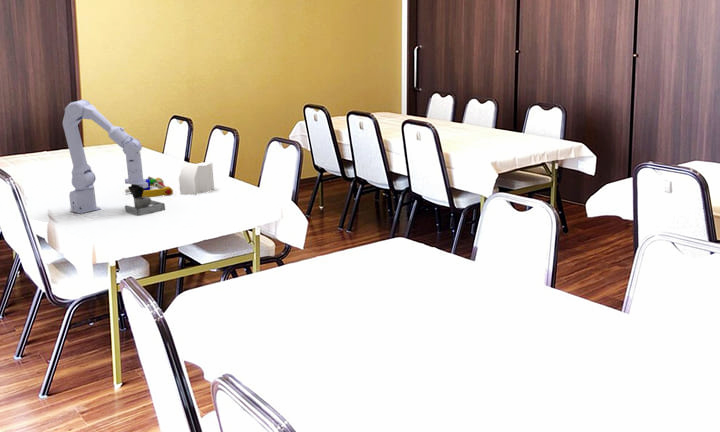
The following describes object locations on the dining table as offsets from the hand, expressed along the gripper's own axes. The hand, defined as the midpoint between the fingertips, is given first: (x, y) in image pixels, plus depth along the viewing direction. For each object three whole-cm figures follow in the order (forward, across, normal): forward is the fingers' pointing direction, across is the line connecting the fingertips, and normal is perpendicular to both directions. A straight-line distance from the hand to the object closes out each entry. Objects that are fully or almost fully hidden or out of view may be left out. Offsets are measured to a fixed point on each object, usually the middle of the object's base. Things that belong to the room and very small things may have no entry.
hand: (138, 203), depth 314 cm
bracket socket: (+2, -4, 0) cm, 5 cm away
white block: (+3, +7, -33) cm, 34 cm away
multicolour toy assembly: (+3, +28, -20) cm, 34 cm away
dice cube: (+3, -4, 0) cm, 5 cm away
